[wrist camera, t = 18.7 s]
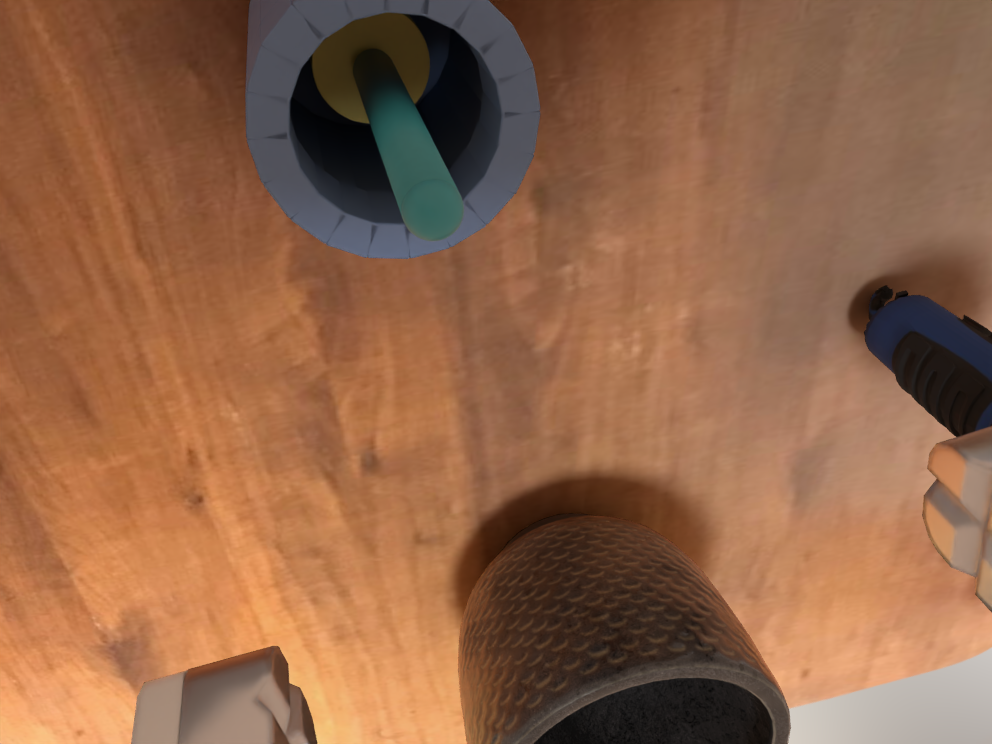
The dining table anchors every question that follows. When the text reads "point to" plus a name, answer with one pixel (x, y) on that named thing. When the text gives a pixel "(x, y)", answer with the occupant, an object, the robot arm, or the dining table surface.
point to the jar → (351, 145)
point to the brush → (392, 113)
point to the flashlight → (934, 357)
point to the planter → (608, 645)
